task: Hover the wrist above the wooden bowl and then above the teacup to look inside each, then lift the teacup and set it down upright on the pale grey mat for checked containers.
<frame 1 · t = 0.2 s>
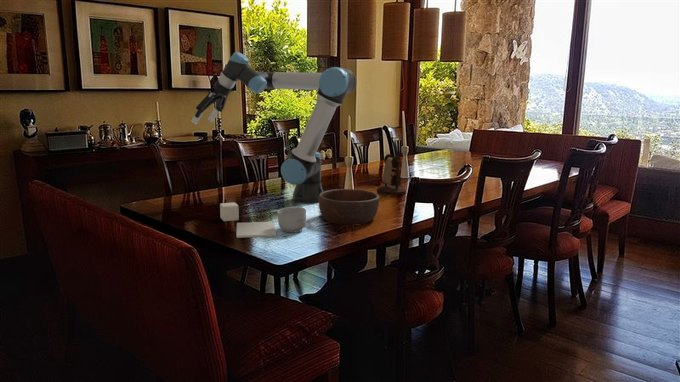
hand: (202, 121, 239), 36 cm above the table, tool tilted 35°, fingers open, 13 cm apart
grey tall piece: (391, 194, 260), on the table
mat: (255, 230, 194), on the table
wooden bowl: (348, 219, 212), on the table
teacup: (292, 229, 196), on the table
cream block: (229, 219, 209), on the table
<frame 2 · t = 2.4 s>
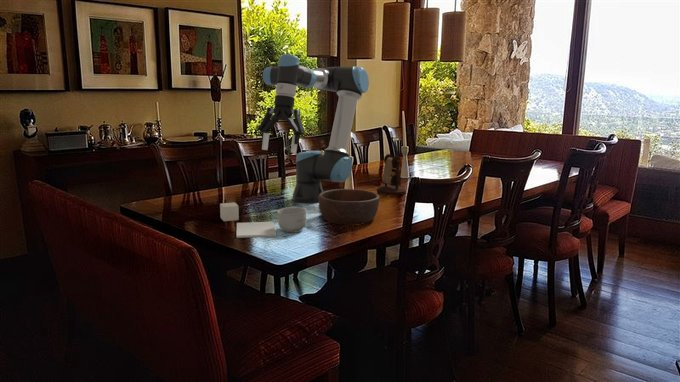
hand: (278, 151, 198), 29 cm above the table, tool pointing down, fingers open, 13 cm apart
nothing on the table moved.
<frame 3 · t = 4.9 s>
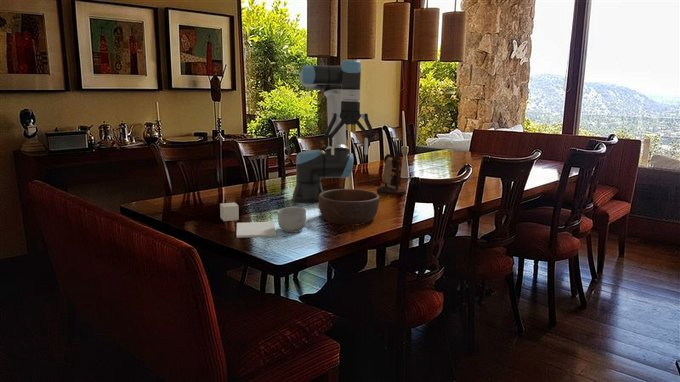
hand: (349, 154, 206), 27 cm above the table, tool pointing down, fingers open, 13 cm apart
nothing on the table moved.
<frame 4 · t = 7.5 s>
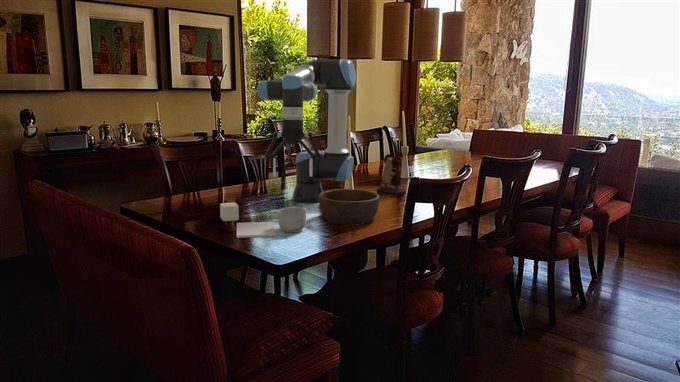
hand: (292, 176, 192), 20 cm above the table, tool pointing down, fingers open, 13 cm apart
nothing on the table moved.
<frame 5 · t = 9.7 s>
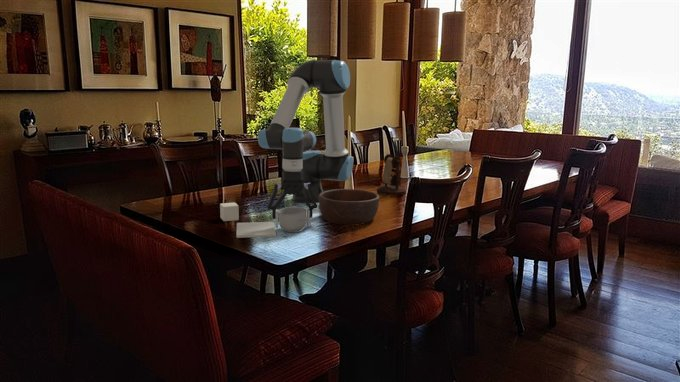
hand: (292, 226, 196), 1 cm above the table, tool pointing down, fingers open, 11 cm apart
teacup: (293, 229, 196), on the table, touching gripper
everything else where it was.
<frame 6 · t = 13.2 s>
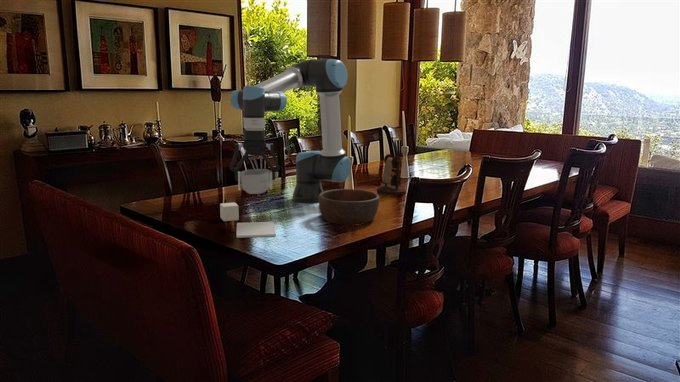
hand: (255, 189, 190), 16 cm above the table, tool pointing down, fingers closed on teacup, 11 cm apart
teacup: (257, 192, 191), point 15 cm above the table, touching gripper
everything else where it was.
when the fingers open (3 cm above the table, at t = 16.5 s): teacup drops 1 cm, resting on mat.
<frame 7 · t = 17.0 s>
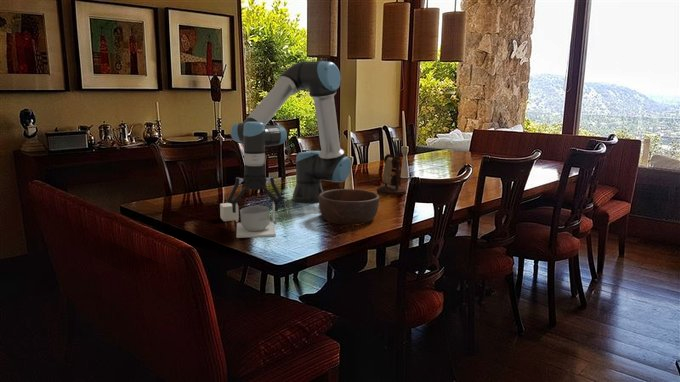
hand: (255, 220, 193), 4 cm above the table, tool pointing down, fingers open, 13 cm apart
teacup: (256, 228, 194), point 1 cm above the table, touching mat
everything else where it was.
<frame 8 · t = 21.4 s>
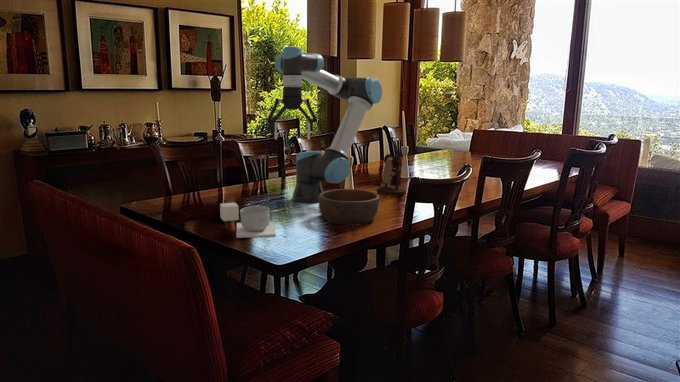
hand: (292, 139, 212), 32 cm above the table, tool pointing down, fingers open, 13 cm apart
nothing on the table moved.
at the end: teacup inside the target area on the mat (0.3 cm from its centre), point 0.6 cm above the mat's base; teacup tilted 0°; the gripper is holding nothing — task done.
